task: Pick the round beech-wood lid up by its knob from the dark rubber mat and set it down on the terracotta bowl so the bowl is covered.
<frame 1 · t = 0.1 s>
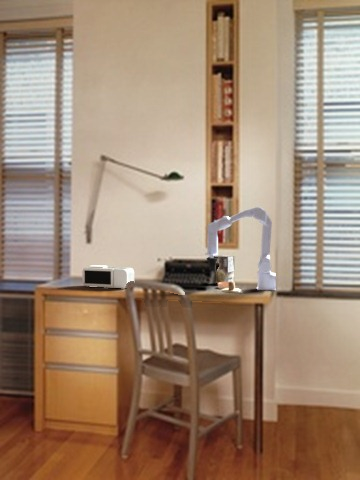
hand: (212, 270, 286), 10 cm above the table, tool pointing down, fingers open, 7 cm apart
coffee box: (225, 284, 307), on the table
mat: (231, 291, 276), on the table
lid: (231, 286, 276), on the mat
alarm clock: (108, 288, 294), on the table
bowl: (226, 288, 288), on the table
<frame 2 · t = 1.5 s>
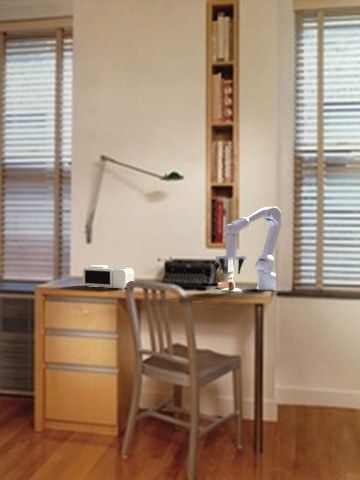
hand: (231, 273, 276), 10 cm above the table, tool pointing down, fingers open, 7 cm apart
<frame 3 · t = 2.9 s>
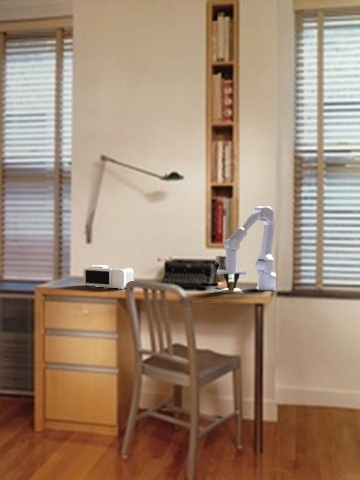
hand: (231, 288, 276), 2 cm above the table, tool pointing down, fingers closed on lid, 3 cm apart
lid: (231, 286, 276), on the mat, touching gripper
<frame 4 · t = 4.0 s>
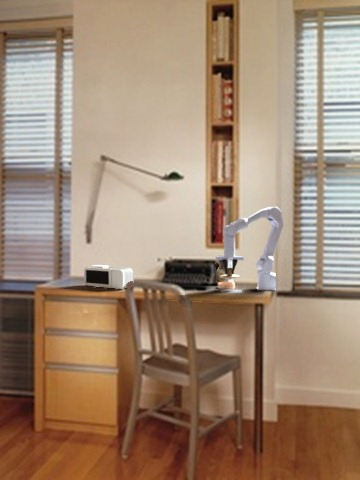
hand: (229, 274, 280), 9 cm above the table, tool pointing down, fingers closed on lid, 3 cm apart
lid: (229, 272, 280), point 10 cm above the table, touching gripper
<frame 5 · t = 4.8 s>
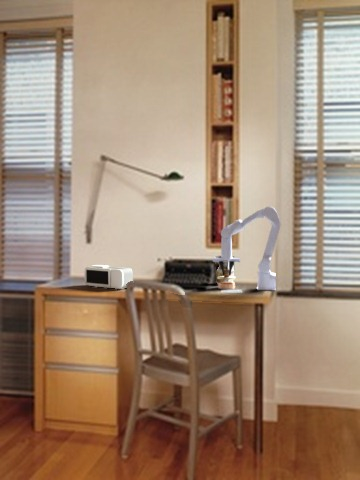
hand: (226, 275, 288), 7 cm above the table, tool pointing down, fingers closed on lid, 3 cm apart
lid: (226, 274, 288), point 8 cm above the table, touching gripper
when the fingers open (6 cm above the table, at t = 5.3 s): lid stays where it is, resting on bowl.
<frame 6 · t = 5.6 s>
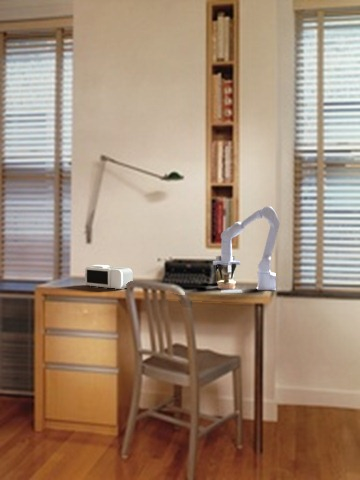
hand: (226, 278, 288), 6 cm above the table, tool pointing down, fingers open, 5 cm apart
lid: (226, 278, 288), on the bowl, point 5 cm above the table
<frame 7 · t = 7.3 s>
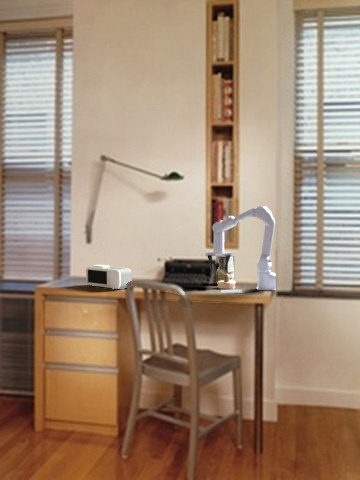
hand: (218, 269, 293), 10 cm above the table, tool pointing down, fingers open, 7 cm apart
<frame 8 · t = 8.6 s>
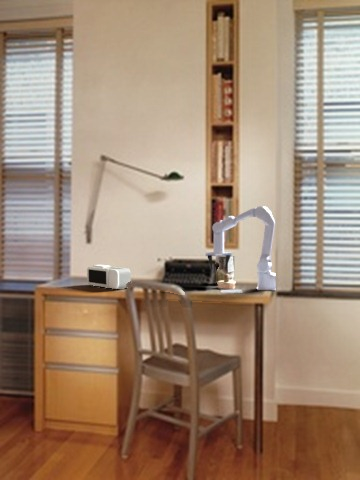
hand: (218, 269, 293), 10 cm above the table, tool pointing down, fingers open, 7 cm apart
at the end: lid 0.4 cm off-centre on the bowl, point 5.4 cm above the bowl's base; lid tilted 0°; the gripper is holding nothing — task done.
